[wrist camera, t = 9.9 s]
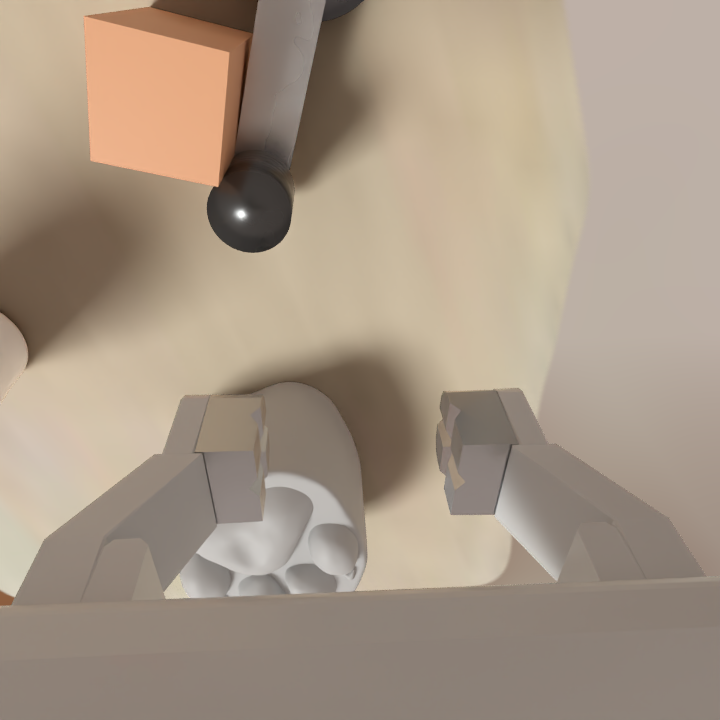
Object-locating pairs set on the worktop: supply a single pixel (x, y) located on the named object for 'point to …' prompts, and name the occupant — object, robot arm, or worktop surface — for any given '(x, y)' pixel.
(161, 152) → the block
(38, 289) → the worktop surface
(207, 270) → the worktop surface
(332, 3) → the crank base
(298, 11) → the crank
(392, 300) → the worktop surface
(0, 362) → the drinking glass
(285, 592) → the grey animal paw
